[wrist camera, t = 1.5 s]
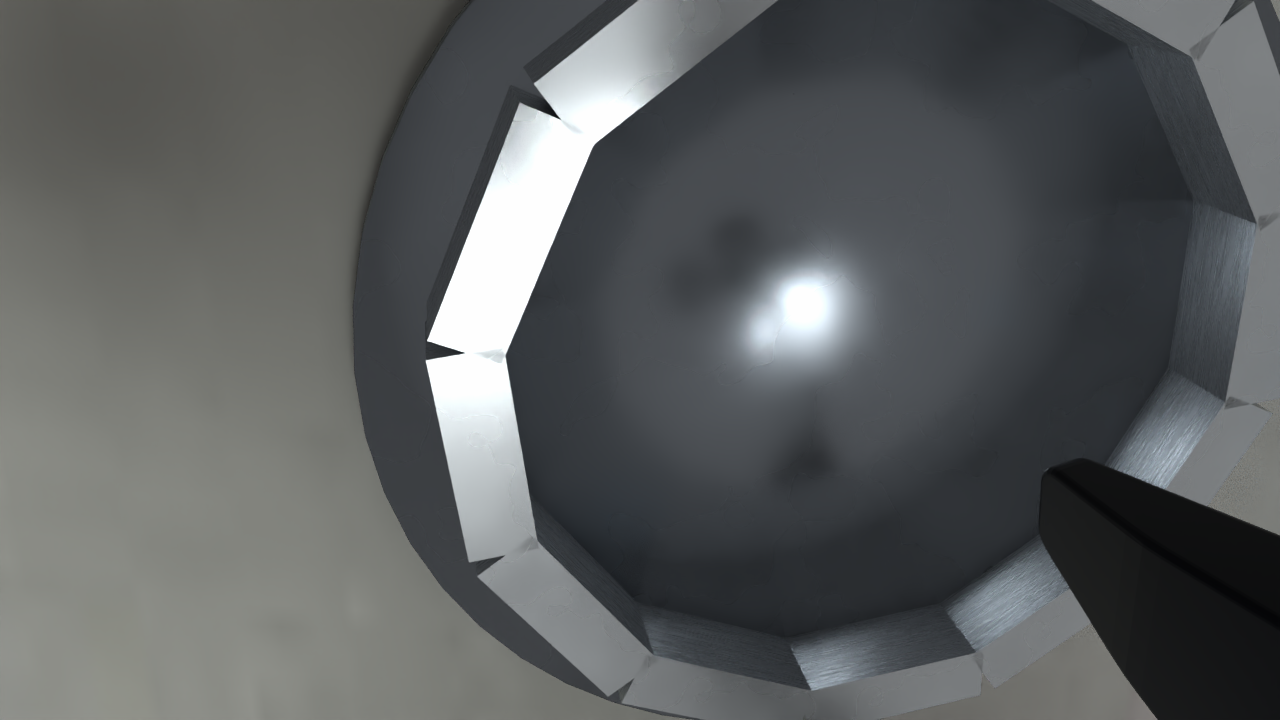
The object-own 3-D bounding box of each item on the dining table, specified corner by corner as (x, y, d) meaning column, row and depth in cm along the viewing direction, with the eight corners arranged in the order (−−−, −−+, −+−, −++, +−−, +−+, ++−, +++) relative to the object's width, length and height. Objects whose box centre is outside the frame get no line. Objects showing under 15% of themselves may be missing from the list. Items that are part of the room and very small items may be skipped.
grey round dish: (1378, 372, 28) (1472, 418, 25) (722, 824, 30) (749, 907, 28) (1068, -509, 18) (1175, -578, 15) (108, 273, 20) (64, 326, 17)
